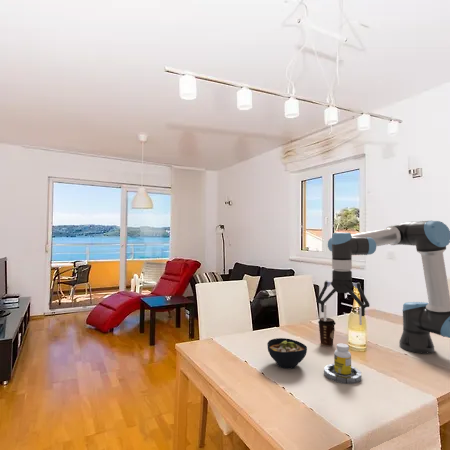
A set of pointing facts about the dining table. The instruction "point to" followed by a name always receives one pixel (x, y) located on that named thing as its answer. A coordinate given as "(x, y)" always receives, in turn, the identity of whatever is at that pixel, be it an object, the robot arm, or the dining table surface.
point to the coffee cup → (326, 331)
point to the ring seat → (352, 379)
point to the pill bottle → (342, 360)
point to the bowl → (286, 352)
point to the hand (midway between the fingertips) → (342, 322)
